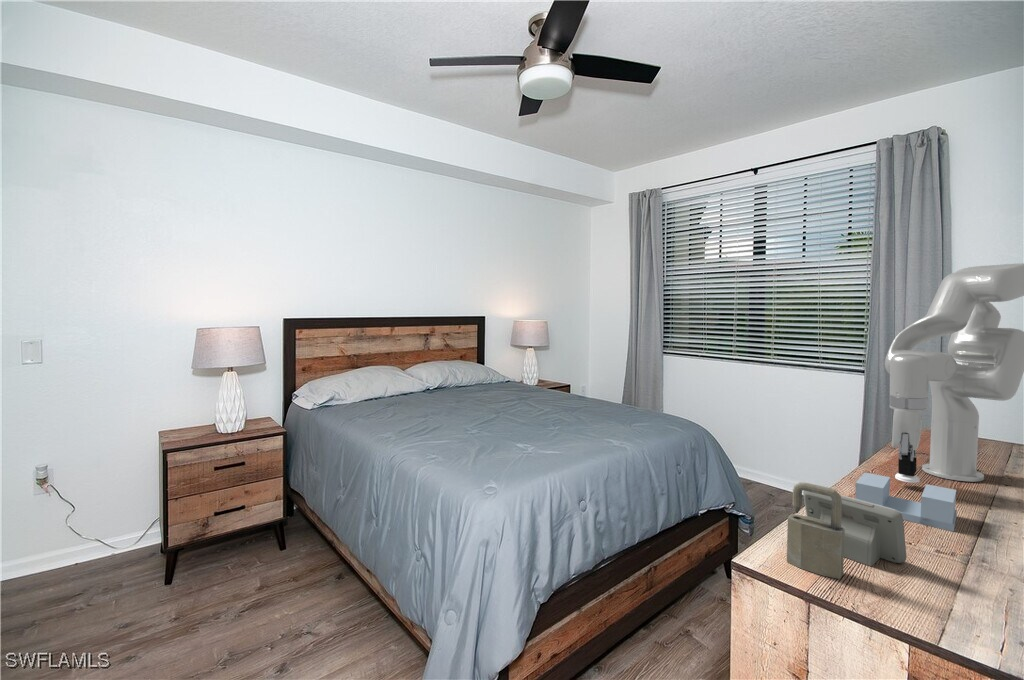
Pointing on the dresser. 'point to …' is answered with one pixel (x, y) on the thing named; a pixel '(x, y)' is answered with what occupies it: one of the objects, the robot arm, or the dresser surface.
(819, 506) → the digital clock
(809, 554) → the padlock
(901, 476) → the chess piece
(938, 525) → the slot block
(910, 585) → the dresser surface
